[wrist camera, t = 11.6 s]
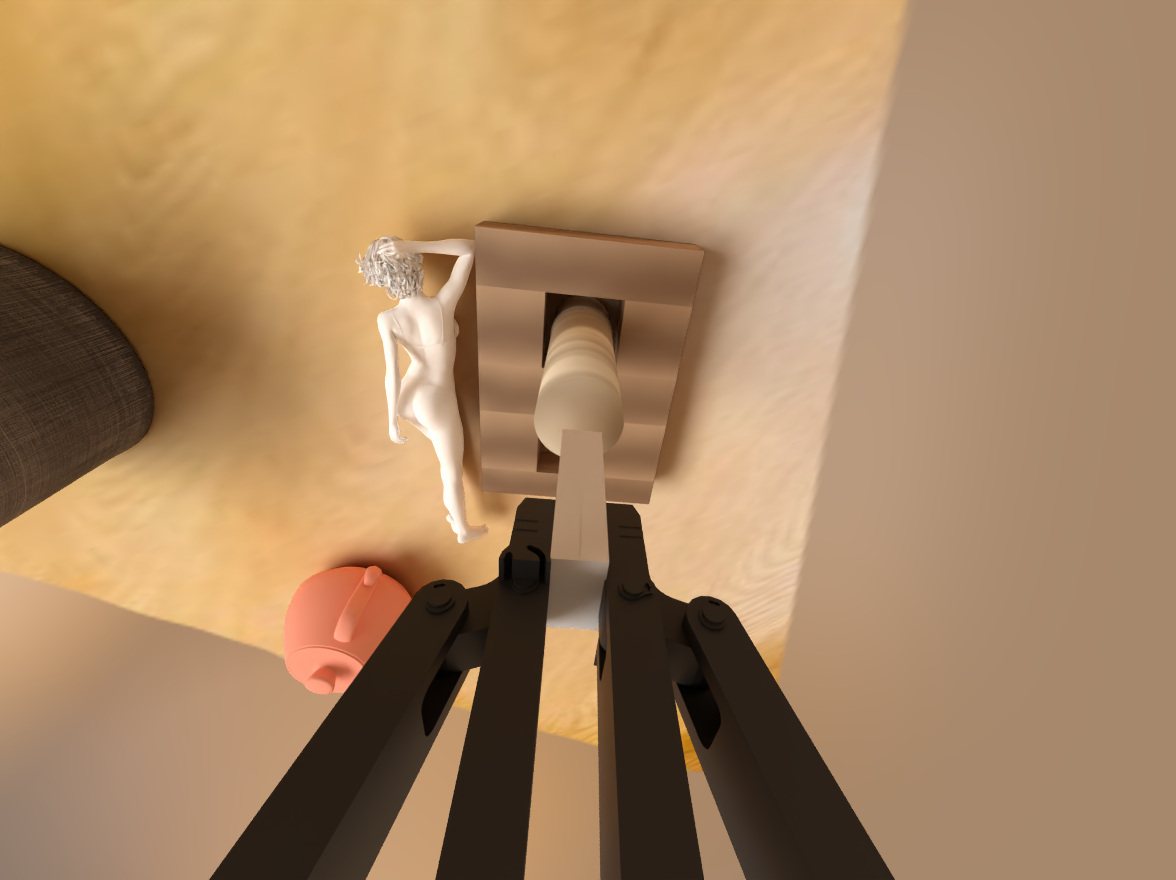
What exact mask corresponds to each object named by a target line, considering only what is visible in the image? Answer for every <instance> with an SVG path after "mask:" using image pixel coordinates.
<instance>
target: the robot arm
mask: <svg viewBox="0 0 1176 880" xmlns="http://www.w3.org/2000/svg"><path fill="white" fill-rule="evenodd" d="M598 623H599V639H598V645H597V650H596V656H595V661H594V665H596V666H597V694H598V751H599V752H598V753H599V817H600V877H601V880H704V876H703V870H702V864H701V857H700V852H699V845H698V839H697V833H696V827H695V821H694V815H693V808H692V803H691V796H690V790H689V784H688V777H687V771H686V765H685V759H684V753H683V747H682V741H681V734H680V728H679V722H678V716H677V710H676V704H675V700H676V703H677V706H678V708H679V711H680V713H681V716H682V718H683V721H684V723H685V726H686V728H687V731H688V733H689V736H690V738H691V741H692V744H693V746H694V749H695V751H696V754H697V756H698V759H699V761H700V764H701V766H702V769H703V771H704V774H705V776H706V779H707V781H708V784H709V787H710V789H711V792H712V794H713V797H714V799H715V801H716V804H717V807H718V809H719V812H720V814H721V817H722V820H723V822H724V825H725V827H726V830H727V832H728V835H729V837H730V840H731V842H732V845H733V847H734V850H735V853H736V855H737V858H738V860H739V862H740V865H741V867H742V870H743V873H744V875H745V878H746V880H895V879H894V877H893V876H892V874H891V872H890V871H889V869H888V867H887V866H886V864H885V862H884V861H883V859H882V857H881V856H880V854H879V852H878V851H877V849H876V847H875V846H874V844H873V843H872V841H871V839H870V837H869V836H868V834H867V833H866V831H865V829H864V827H863V826H862V824H861V822H860V821H859V819H858V817H857V816H856V814H855V812H854V811H853V809H852V808H851V806H850V804H849V802H848V801H847V799H846V797H845V796H844V794H843V792H842V791H841V789H840V787H839V786H838V784H837V783H836V781H835V779H834V777H833V776H832V774H831V772H830V771H829V769H828V767H827V766H826V764H825V762H824V761H823V759H822V757H821V756H820V754H819V752H818V751H817V749H816V747H815V746H814V744H813V743H812V741H811V739H810V737H809V736H808V734H807V732H806V731H805V729H804V727H803V726H802V724H801V722H800V721H799V719H798V718H797V716H796V714H795V712H794V711H793V709H792V707H791V706H790V704H789V702H788V701H787V699H786V697H785V696H784V694H783V692H782V691H781V689H780V687H779V686H778V684H777V682H776V681H775V679H774V677H773V676H772V674H771V672H770V671H769V669H768V667H767V666H766V664H765V662H764V661H763V659H762V657H761V656H760V654H759V652H758V651H757V649H756V647H755V646H754V644H753V642H752V641H751V639H750V637H749V636H748V634H747V632H746V631H745V629H744V627H743V626H742V624H741V622H740V621H739V619H738V617H737V616H736V614H735V613H734V612H733V610H732V609H731V608H730V607H729V606H728V605H727V604H725V603H724V602H722V601H721V600H719V599H716V598H713V597H710V596H700V597H697V598H694V599H692V600H691V601H690V603H689V604H688V603H685V602H682V601H679V600H676V599H674V598H671V597H669V596H667V595H665V594H664V593H662V592H661V591H659V590H658V589H657V588H656V587H655V584H654V583H653V582H652V581H651V579H650V575H649V571H648V564H647V557H646V551H645V544H644V540H643V531H642V525H641V518H640V515H639V513H638V512H637V511H636V509H635V508H634V507H633V505H627V504H614V503H606V496H605V478H604V460H603V441H602V432H593V431H581V430H570V429H563V431H562V441H561V451H560V462H559V472H558V482H557V493H556V500H551V499H538V498H525V499H524V500H523V501H522V503H521V504H520V505H519V506H518V507H517V511H516V516H515V521H514V526H513V531H512V535H511V540H510V545H509V546H508V547H507V548H505V549H504V550H503V551H502V553H501V555H500V557H499V576H498V577H497V578H496V579H495V580H493V581H492V582H490V583H488V584H485V585H482V586H478V587H474V588H469V589H465V588H464V587H463V586H462V584H460V583H458V582H456V581H454V580H444V579H443V580H438V581H433V582H431V583H429V584H427V585H425V586H423V587H422V588H421V589H420V590H419V591H418V592H417V593H416V594H415V595H414V597H413V598H412V600H411V601H410V602H409V604H408V605H407V607H406V608H405V609H404V611H403V612H402V613H401V615H400V616H399V618H398V619H397V620H396V622H395V623H394V625H393V626H392V627H391V629H390V630H389V631H388V633H387V634H386V636H385V637H384V638H383V640H382V641H381V643H380V644H379V645H378V647H377V648H376V649H375V651H374V652H373V654H372V655H371V656H370V658H369V659H368V661H367V662H366V663H365V665H364V666H363V667H362V669H361V670H360V672H359V673H358V674H357V676H356V677H355V679H354V680H353V681H352V683H351V684H350V685H349V687H348V688H347V690H346V691H345V692H344V694H343V695H342V697H341V698H340V699H339V701H338V702H337V704H336V705H335V706H334V708H333V709H332V710H331V712H330V713H329V715H328V716H327V717H326V719H325V720H324V721H323V723H322V724H321V726H320V727H319V728H318V730H317V731H316V733H315V734H314V735H313V737H312V738H311V740H310V741H309V742H308V744H307V745H306V746H305V748H304V749H303V751H302V752H301V753H300V755H299V756H298V757H297V759H296V760H295V762H294V763H293V764H292V766H291V767H290V769H289V770H288V772H287V773H286V774H285V775H284V777H283V778H282V780H281V781H280V782H279V784H278V785H277V786H276V788H275V789H274V791H273V792H272V793H271V795H270V796H269V798H268V799H267V800H266V802H265V803H264V804H263V806H262V807H261V809H260V810H259V812H258V813H257V814H256V816H255V817H254V818H253V820H252V821H251V822H250V824H249V825H248V827H247V828H246V830H245V831H244V832H243V834H242V835H241V836H240V838H239V839H238V841H237V842H236V843H235V845H234V846H233V847H232V849H231V850H230V852H229V853H228V854H227V856H226V857H225V859H224V860H223V861H222V863H221V864H220V866H219V867H218V868H217V870H216V871H215V872H214V874H213V875H212V877H211V878H210V880H366V877H367V876H368V874H369V872H370V869H371V867H372V866H373V863H374V862H375V860H376V857H377V855H378V853H379V851H380V849H381V847H382V845H383V843H384V841H385V839H386V837H387V835H388V833H389V831H390V829H391V827H392V825H393V823H394V821H395V819H396V817H397V815H398V813H399V811H400V809H401V807H402V805H403V803H404V801H405V799H406V797H407V795H408V793H409V791H410V789H411V787H412V785H413V783H414V781H415V779H416V777H417V775H418V773H419V771H420V769H421V767H422V765H423V763H424V761H425V759H426V757H427V755H428V753H429V751H430V749H431V747H432V745H433V743H434V741H435V739H436V737H437V735H438V733H439V731H440V729H441V727H442V725H443V722H444V720H445V719H446V717H447V715H448V713H449V711H450V709H451V707H452V705H453V703H454V701H455V699H456V697H457V695H458V693H459V691H460V689H461V687H462V685H463V683H464V681H465V678H466V676H467V674H468V672H469V670H470V669H472V668H476V667H480V666H481V667H480V672H479V677H478V681H477V686H476V691H475V696H474V700H473V705H472V710H471V715H470V719H469V724H468V728H467V734H466V738H465V743H464V747H463V752H462V757H461V761H460V766H459V771H458V775H457V780H456V785H455V790H454V794H453V799H452V804H451V808H450V813H449V818H448V823H447V827H446V832H445V837H444V841H443V846H442V851H441V856H440V860H439V865H438V870H437V874H436V879H435V880H524V875H525V864H526V852H527V841H528V829H529V818H530V807H531V795H532V784H533V772H534V761H535V760H534V759H535V748H536V738H537V726H538V715H539V704H540V692H541V681H542V669H543V658H544V646H545V634H546V627H552V628H568V629H583V630H597V629H598Z"/></svg>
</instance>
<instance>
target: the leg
mask: <svg viewBox="0 0 1176 880" xmlns="http://www.w3.org/2000/svg"><path fill="white" fill-rule="evenodd" d="M550 335H551V339H550V343H549V348H548V353H547V357H546V362H545V367H544V372H543V376H542V381H541V386H540V390H539V395H538V400H537V404H536V409H535V414H534V426H535V430H536V433H537V435H538V437H539V439H540V441H541V442H542V443H543V444H544V445H545V447H547V448H548V449H549V450H550V451H552V452H553V453H555V454H557V455H559V456H560V451H561V441H562V431H563V429H570V430H581V431H593V432H602V441H603V454H604V453H606V452H607V451H608V450H610V449H611V448H612V447H613V446H614V445H615V444H616V443H617V441H618V440H619V438H620V436H621V434H622V431H623V427H624V414H623V408H622V401H621V394H620V388H619V381H618V374H617V368H616V361H615V354H614V347H613V341H612V340H613V333H612V327H611V324H610V321H609V315H608V312H607V310H606V308H605V307H604V305H603V304H602V303H601V302H600V301H599V300H597V299H596V298H594V297H588V296H578V295H575V296H572V297H570V298H568V299H566V300H565V301H564V302H563V303H562V304H561V305H560V306H559V308H558V310H557V312H556V315H555V320H554V322H553V325H552V328H551V334H550Z"/></svg>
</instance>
